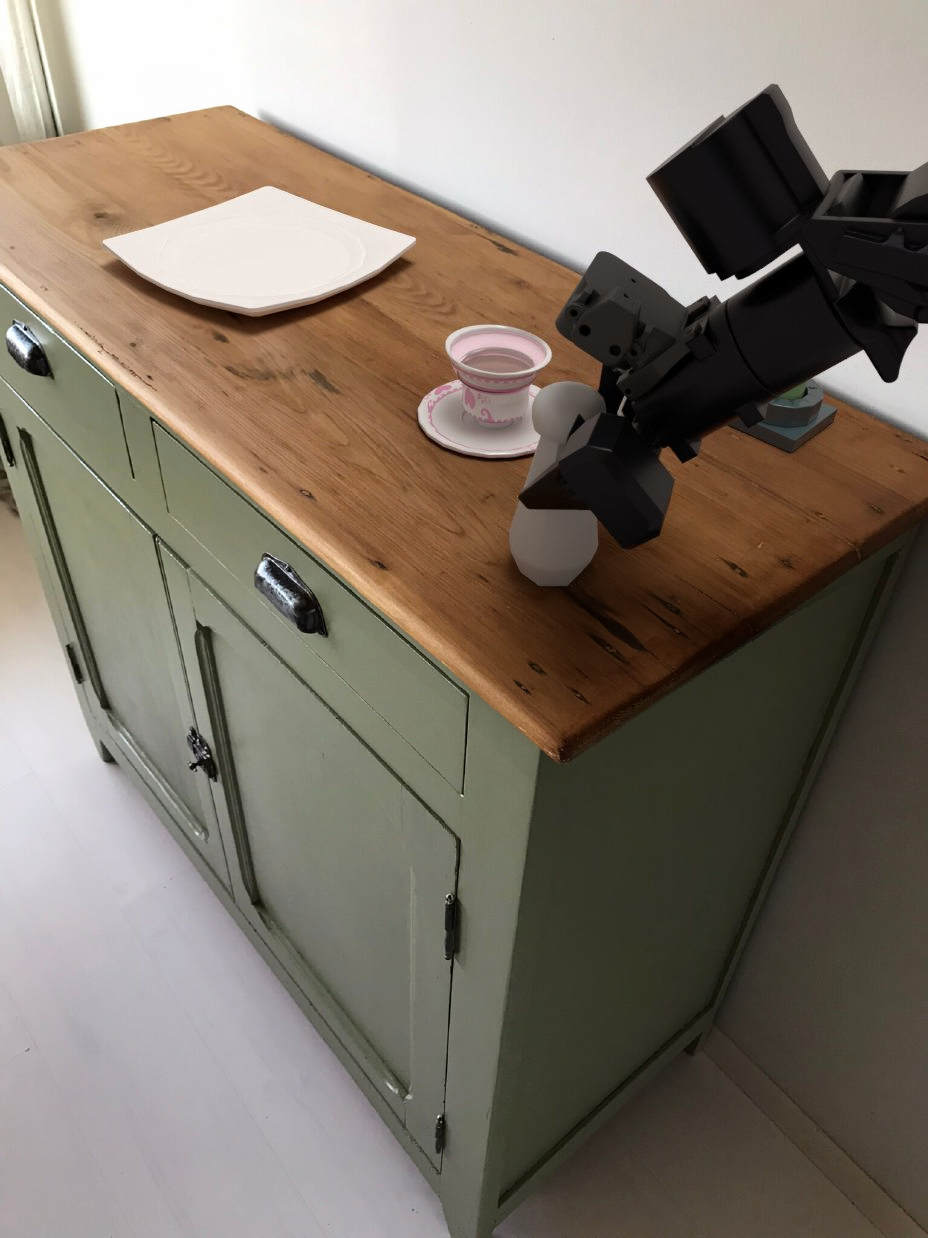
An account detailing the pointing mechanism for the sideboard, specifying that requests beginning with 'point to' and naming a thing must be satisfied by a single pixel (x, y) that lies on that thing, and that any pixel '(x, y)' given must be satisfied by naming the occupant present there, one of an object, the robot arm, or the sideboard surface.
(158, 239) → the plate
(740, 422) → the button base
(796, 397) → the green short cylinder
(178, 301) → the sideboard surface
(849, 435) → the sideboard surface
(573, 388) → the salt shaker
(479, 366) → the teacup
